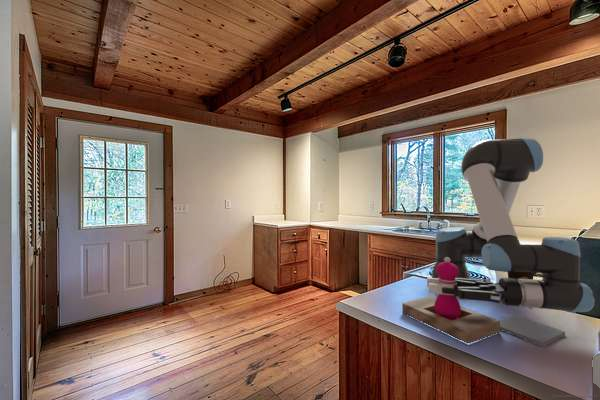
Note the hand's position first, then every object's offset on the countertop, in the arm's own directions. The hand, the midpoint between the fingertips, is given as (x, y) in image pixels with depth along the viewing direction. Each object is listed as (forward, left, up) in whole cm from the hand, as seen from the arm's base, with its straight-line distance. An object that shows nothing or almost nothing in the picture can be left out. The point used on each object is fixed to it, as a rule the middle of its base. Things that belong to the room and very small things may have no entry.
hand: (428, 285), depth 87 cm
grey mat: (+18, +19, -11) cm, 28 cm away
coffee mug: (+2, +52, -11) cm, 53 cm away
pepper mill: (+4, +4, -11) cm, 12 cm away
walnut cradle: (+4, +4, -11) cm, 12 cm away
